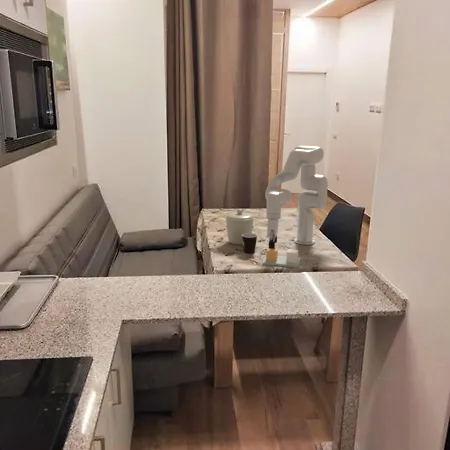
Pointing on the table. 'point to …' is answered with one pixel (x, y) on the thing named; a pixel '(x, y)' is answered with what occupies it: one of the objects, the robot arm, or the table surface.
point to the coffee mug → (249, 243)
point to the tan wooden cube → (272, 254)
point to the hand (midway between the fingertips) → (272, 245)
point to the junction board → (285, 259)
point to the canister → (238, 225)
